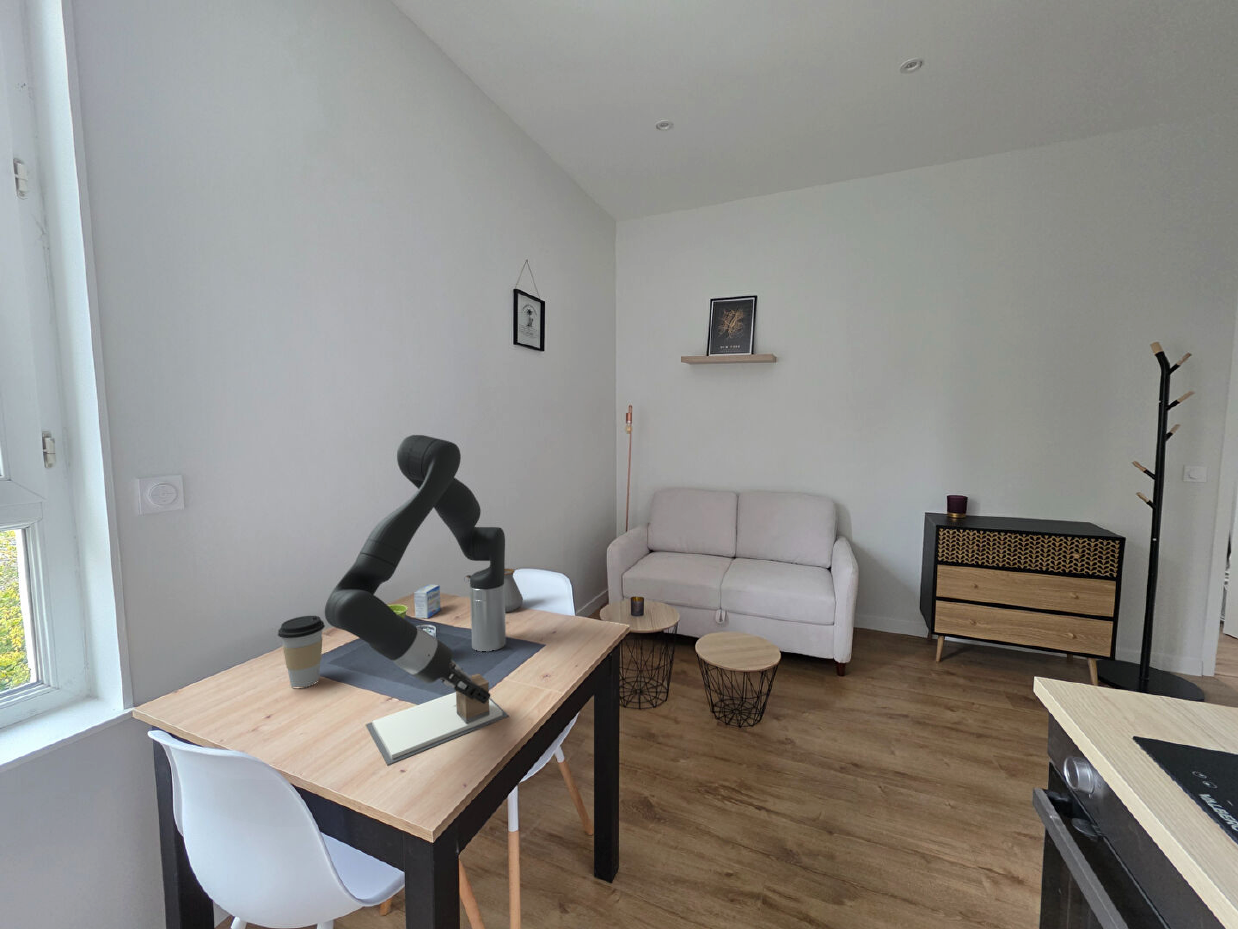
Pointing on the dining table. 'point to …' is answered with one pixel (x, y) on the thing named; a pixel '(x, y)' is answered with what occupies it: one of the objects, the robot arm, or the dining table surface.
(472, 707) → the block
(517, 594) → the coffee pot
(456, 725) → the board
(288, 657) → the coffee cup
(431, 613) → the medicine box
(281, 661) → the dining table surface
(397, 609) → the plant pot
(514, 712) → the dining table surface
